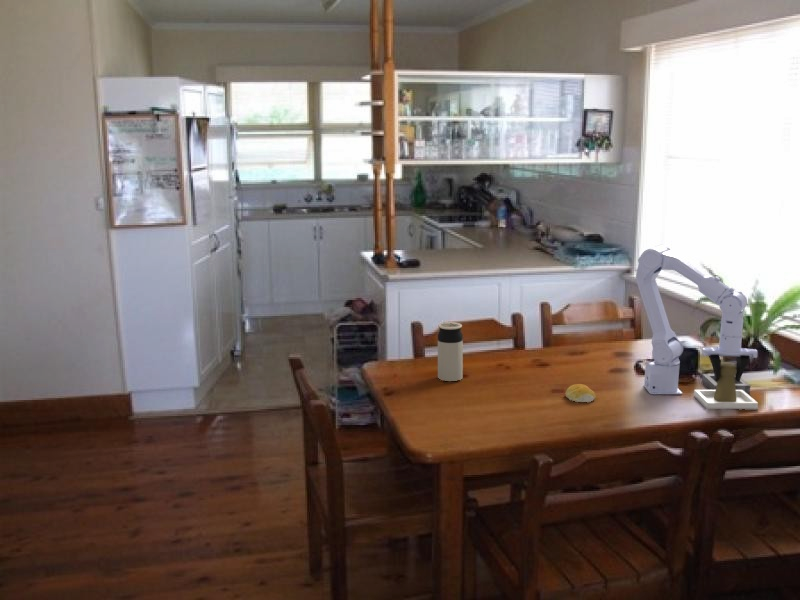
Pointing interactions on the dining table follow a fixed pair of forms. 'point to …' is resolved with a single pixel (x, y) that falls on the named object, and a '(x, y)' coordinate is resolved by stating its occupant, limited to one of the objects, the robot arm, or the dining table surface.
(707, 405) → the tray
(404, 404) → the dining table surface
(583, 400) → the bread roll
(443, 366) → the travel mug
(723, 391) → the cork
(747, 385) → the holder
